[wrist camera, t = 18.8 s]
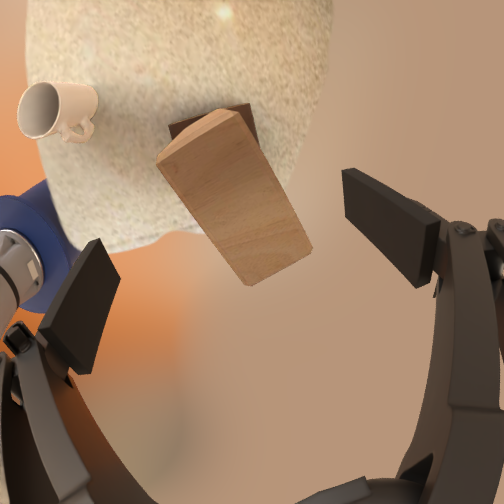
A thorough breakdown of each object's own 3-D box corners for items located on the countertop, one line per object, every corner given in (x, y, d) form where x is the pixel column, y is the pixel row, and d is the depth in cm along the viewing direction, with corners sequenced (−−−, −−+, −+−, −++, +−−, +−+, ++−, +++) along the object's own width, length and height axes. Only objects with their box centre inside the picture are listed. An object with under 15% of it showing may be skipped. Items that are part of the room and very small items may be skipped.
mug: (55, 107, 28) (9, 115, 18) (84, 74, 27) (41, 68, 17) (91, 150, 33) (52, 170, 23) (121, 118, 32) (88, 125, 22)
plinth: (192, 190, 39) (191, 199, 36) (172, 123, 34) (167, 125, 30) (261, 171, 39) (266, 178, 36) (245, 103, 34) (249, 103, 30)
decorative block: (263, 177, 36) (316, 255, 19) (226, 198, 36) (245, 292, 19) (222, 105, 30) (239, 105, 13) (182, 129, 31) (150, 159, 14)
